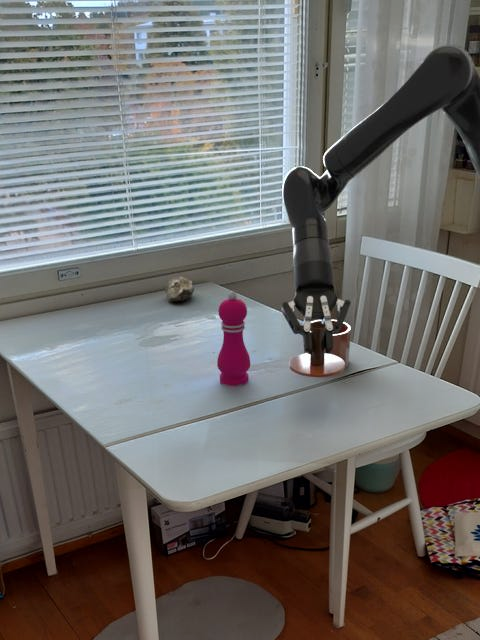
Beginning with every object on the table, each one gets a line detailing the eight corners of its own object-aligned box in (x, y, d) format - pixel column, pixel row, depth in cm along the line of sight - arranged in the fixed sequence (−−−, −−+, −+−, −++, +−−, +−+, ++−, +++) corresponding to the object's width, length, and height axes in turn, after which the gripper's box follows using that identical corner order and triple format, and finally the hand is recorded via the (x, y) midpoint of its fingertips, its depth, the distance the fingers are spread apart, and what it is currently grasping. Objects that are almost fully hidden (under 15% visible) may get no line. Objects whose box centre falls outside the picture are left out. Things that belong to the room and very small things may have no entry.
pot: (347, 355, 184) (350, 319, 179) (348, 372, 176) (351, 336, 171) (304, 354, 185) (305, 319, 180) (303, 371, 177) (304, 335, 172)
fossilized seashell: (187, 297, 213) (203, 292, 221) (176, 273, 212) (193, 270, 220) (166, 308, 217) (183, 303, 225) (155, 286, 216) (173, 282, 224)
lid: (344, 358, 157) (347, 316, 152) (344, 381, 148) (347, 336, 143) (290, 357, 158) (291, 315, 153) (287, 379, 149) (288, 335, 144)
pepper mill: (256, 379, 173) (256, 289, 162) (238, 391, 168) (237, 299, 157) (229, 373, 176) (227, 284, 165) (211, 384, 171) (207, 293, 160)
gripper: (278, 260, 148) (284, 345, 145) (351, 257, 148) (359, 342, 145) (275, 279, 155) (281, 361, 152) (345, 277, 156) (352, 358, 153)
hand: (319, 352), depth 149 cm, fingers closed on lid, 3 cm apart
